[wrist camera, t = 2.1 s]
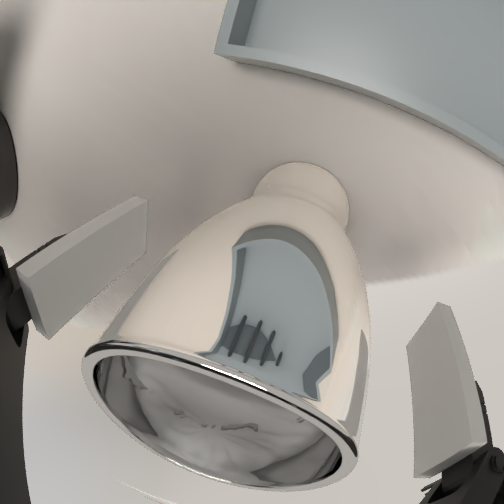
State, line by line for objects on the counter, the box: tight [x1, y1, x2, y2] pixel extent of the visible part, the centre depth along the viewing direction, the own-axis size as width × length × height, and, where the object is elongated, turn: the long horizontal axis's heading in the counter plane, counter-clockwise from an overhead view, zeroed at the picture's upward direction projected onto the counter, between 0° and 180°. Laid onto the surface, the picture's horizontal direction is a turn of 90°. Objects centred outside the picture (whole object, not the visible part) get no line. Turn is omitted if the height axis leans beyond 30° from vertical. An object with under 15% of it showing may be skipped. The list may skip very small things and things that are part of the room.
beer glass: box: [82, 162, 370, 492], centre depth 12 cm, size 7×7×15 cm
